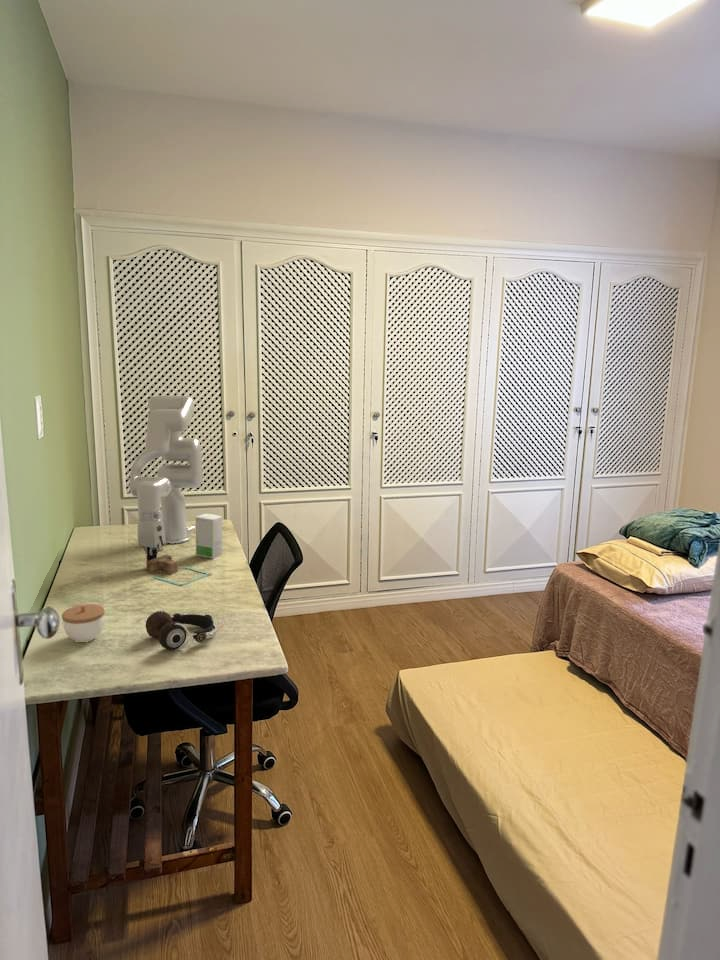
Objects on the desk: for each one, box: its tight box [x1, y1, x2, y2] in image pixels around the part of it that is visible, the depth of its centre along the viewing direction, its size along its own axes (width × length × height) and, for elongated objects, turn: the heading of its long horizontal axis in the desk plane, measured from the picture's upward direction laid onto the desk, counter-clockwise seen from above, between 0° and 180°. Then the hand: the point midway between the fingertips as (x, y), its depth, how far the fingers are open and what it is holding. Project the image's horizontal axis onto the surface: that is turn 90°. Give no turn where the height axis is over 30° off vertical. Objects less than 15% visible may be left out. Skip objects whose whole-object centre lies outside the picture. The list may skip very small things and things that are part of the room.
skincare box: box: [195, 513, 223, 559], centre depth 248 cm, size 8×7×16 cm
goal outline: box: [153, 565, 211, 587], centre depth 227 cm, size 14×14×1 cm
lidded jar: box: [61, 603, 106, 643], centre depth 178 cm, size 11×11×9 cm
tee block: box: [145, 554, 179, 575], centre depth 231 cm, size 9×9×4 cm
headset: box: [145, 609, 217, 651], centre depth 181 cm, size 17×8×20 cm
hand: (152, 564), depth 235 cm, fingers closed
